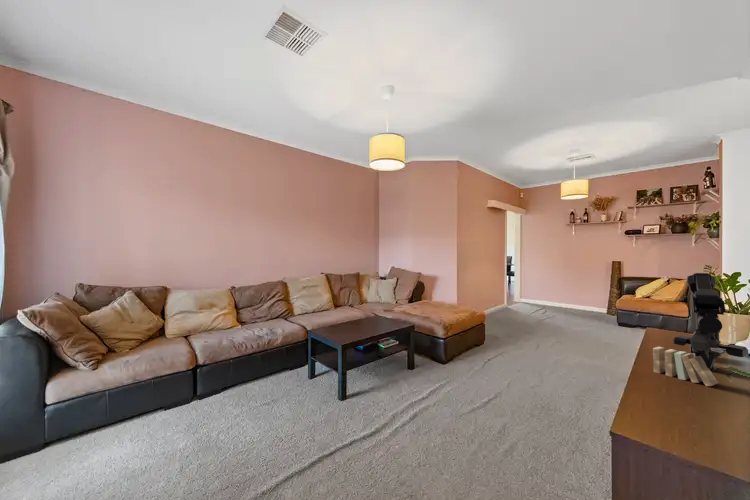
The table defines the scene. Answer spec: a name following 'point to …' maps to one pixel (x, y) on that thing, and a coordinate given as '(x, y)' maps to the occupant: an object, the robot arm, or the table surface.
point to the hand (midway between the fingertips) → (709, 368)
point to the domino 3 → (681, 366)
